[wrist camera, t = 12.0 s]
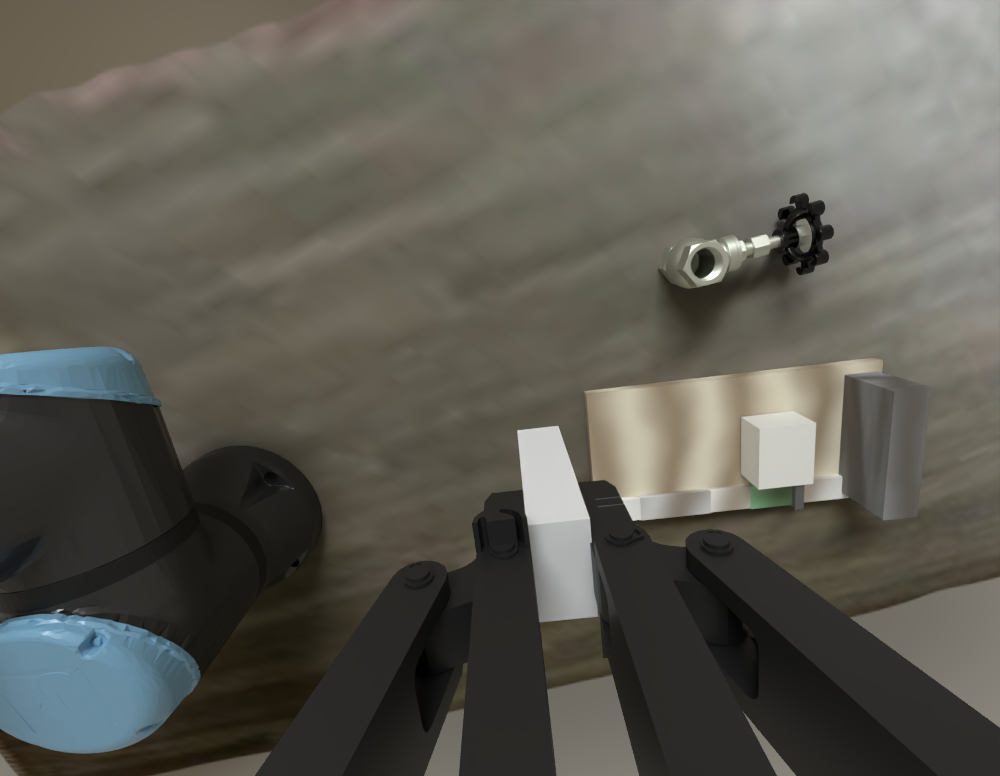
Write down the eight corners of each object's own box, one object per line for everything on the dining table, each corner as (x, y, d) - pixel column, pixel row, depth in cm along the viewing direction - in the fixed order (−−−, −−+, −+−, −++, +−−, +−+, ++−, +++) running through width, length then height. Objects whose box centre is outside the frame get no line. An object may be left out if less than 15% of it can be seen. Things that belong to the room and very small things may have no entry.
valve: (661, 304, 46) (789, 271, 45) (687, 311, 39) (837, 273, 38) (649, 232, 44) (782, 197, 43) (674, 228, 38) (831, 186, 37)
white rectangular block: (740, 497, 49) (758, 515, 46) (741, 416, 47) (759, 429, 43) (790, 492, 49) (812, 510, 45) (793, 411, 47) (816, 422, 43)
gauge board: (594, 518, 51) (608, 558, 44) (584, 391, 48) (598, 413, 41) (863, 489, 50) (921, 526, 43) (873, 357, 47) (938, 374, 40)
